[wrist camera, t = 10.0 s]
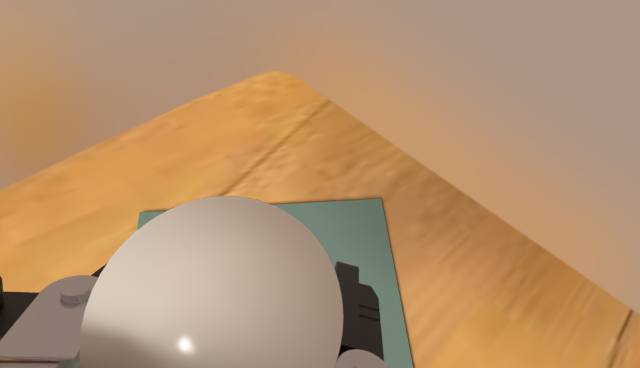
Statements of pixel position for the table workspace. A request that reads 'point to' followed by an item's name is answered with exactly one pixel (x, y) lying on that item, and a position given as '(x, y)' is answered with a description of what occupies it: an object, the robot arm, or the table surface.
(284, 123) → the table surface
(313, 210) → the felt mat
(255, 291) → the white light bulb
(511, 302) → the table surface
